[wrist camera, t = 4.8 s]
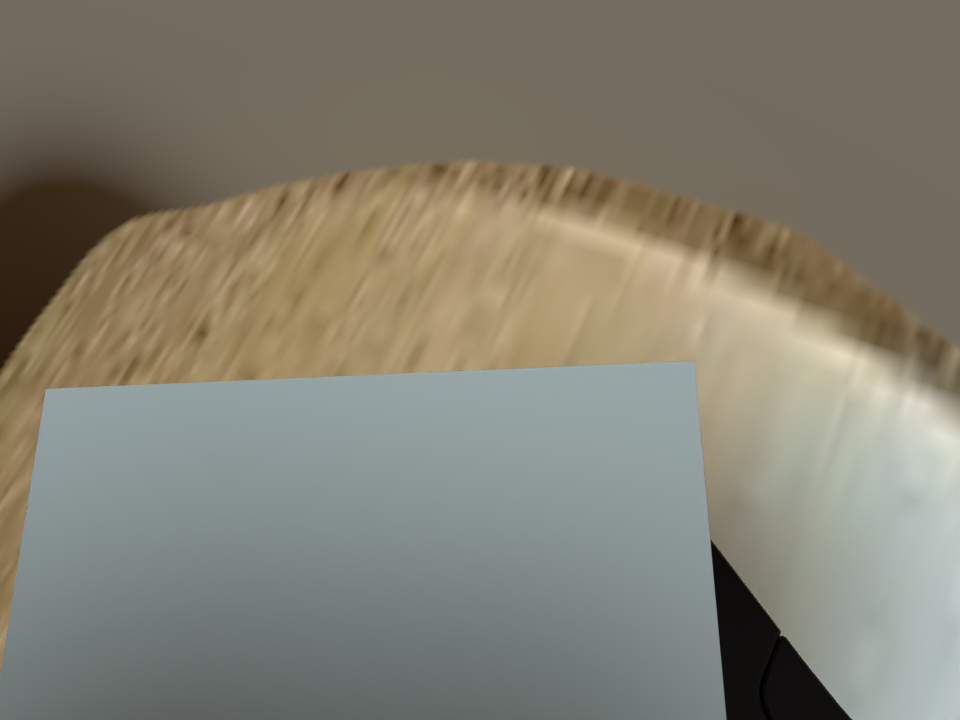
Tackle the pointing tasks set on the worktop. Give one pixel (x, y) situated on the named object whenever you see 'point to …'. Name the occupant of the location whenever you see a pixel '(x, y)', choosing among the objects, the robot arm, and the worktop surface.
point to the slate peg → (370, 550)
